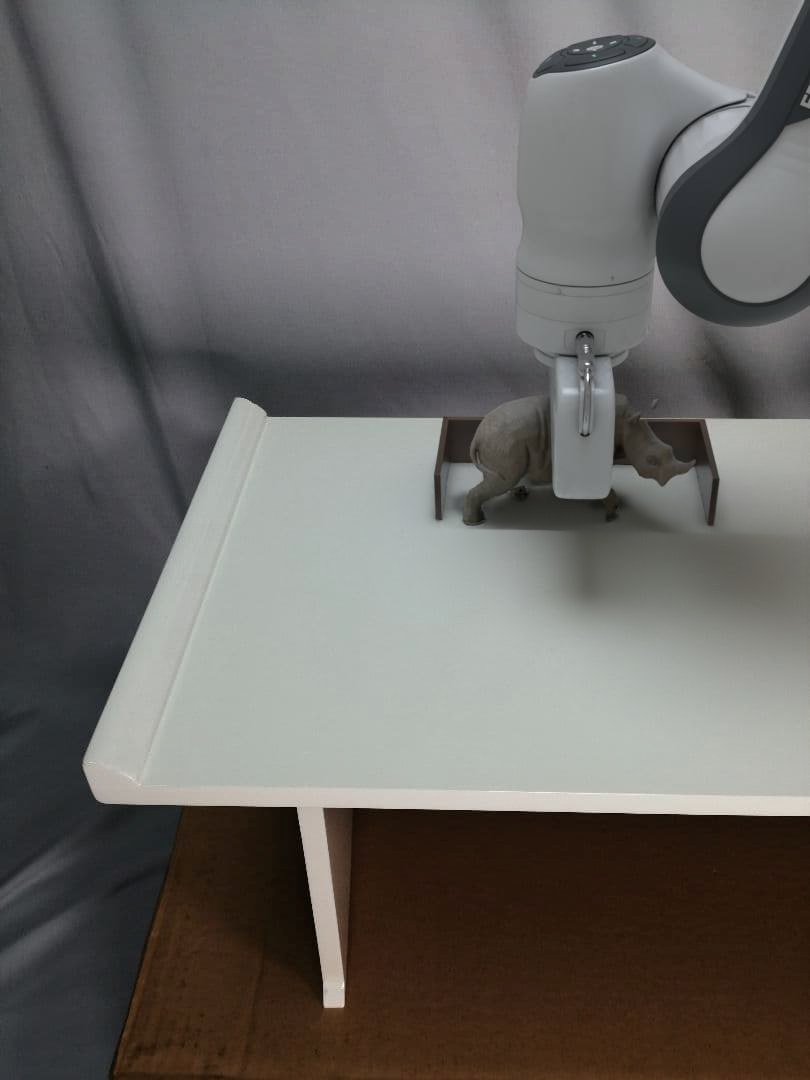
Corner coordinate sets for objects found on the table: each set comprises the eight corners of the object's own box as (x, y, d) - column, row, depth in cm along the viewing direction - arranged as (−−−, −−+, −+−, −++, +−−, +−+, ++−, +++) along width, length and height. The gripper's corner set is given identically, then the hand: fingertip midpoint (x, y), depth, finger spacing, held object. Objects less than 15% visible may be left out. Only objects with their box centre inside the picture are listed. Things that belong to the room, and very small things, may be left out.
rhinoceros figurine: (432, 448, 94) (545, 311, 86) (567, 529, 98) (689, 405, 90) (424, 506, 88) (546, 364, 80) (569, 590, 92) (700, 463, 84)
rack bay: (700, 462, 96) (705, 418, 94) (714, 524, 88) (719, 478, 86) (444, 458, 98) (443, 416, 96) (435, 519, 90) (433, 474, 88)
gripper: (644, 373, 68) (628, 570, 75) (621, 252, 85) (610, 422, 92) (534, 373, 68) (529, 568, 76) (534, 252, 85) (530, 422, 93)
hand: (573, 487), depth 84 cm, fingers closed
